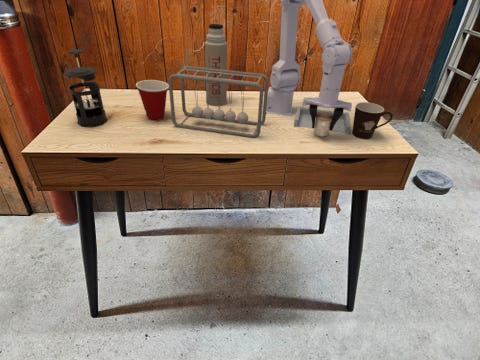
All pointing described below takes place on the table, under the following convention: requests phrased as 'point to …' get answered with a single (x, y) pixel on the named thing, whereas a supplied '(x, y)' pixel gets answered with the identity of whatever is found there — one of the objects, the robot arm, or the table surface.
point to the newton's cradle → (218, 113)
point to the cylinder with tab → (323, 123)
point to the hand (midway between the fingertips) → (322, 128)
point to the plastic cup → (153, 98)
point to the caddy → (305, 120)
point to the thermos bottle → (216, 64)
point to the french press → (87, 105)
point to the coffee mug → (367, 119)
